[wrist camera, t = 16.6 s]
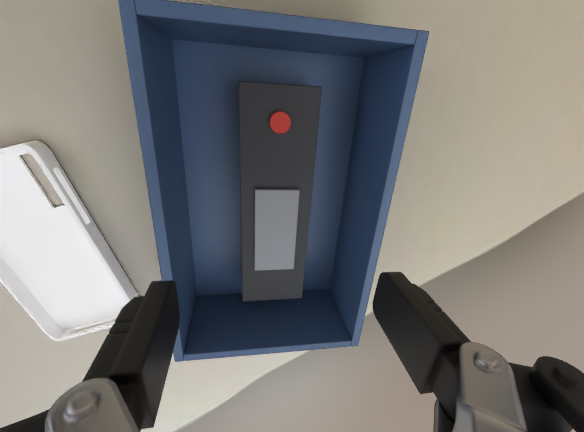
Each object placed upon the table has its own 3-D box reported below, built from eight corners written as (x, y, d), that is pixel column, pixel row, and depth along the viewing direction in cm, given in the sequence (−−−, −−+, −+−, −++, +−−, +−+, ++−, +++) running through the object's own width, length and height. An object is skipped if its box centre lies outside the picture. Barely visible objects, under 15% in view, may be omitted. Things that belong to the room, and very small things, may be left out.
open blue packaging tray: (191, 297, 25) (174, 362, 19) (162, 27, 16) (116, -7, 10) (333, 290, 27) (358, 346, 21) (371, 49, 18) (429, 31, 13)
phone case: (-74, 166, 17) (62, 330, 24) (-98, 171, 16) (52, 343, 23) (44, 137, 18) (146, 308, 24) (29, 141, 16) (141, 319, 23)
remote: (242, 274, 24) (242, 304, 20) (239, 82, 18) (238, 80, 14) (295, 272, 25) (302, 301, 21) (309, 86, 18) (323, 86, 15)
